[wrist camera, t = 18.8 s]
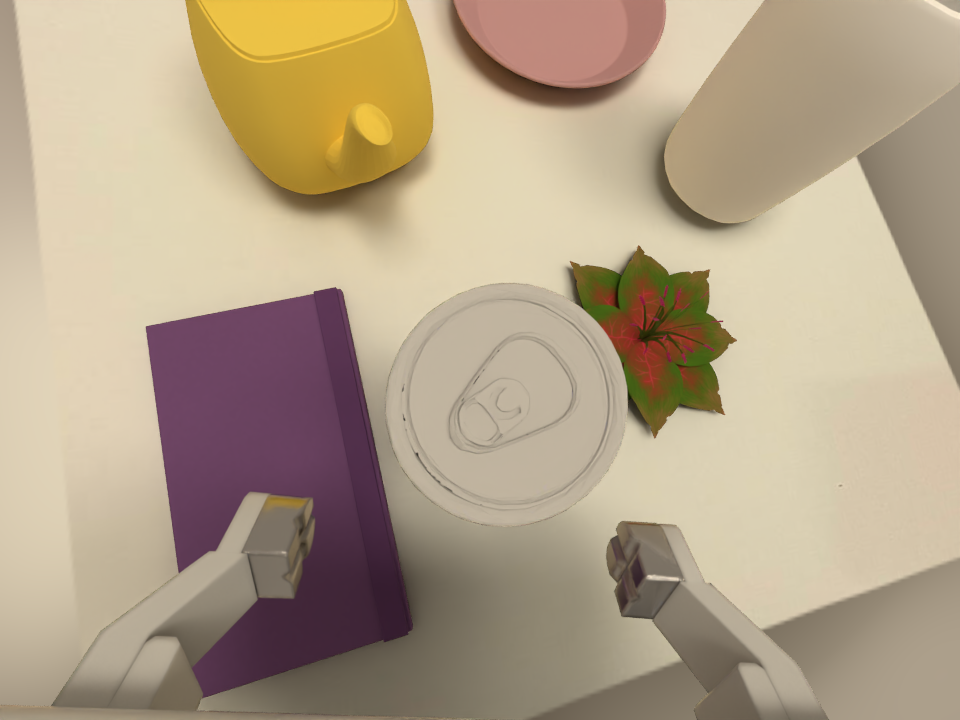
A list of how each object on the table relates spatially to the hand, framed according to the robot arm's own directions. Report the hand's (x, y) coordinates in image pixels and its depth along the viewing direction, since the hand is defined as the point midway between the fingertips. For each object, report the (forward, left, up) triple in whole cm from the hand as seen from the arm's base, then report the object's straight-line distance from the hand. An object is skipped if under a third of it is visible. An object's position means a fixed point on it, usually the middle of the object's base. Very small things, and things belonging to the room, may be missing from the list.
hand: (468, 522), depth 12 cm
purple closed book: (+1, +9, -12) cm, 15 cm away
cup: (+19, -18, -12) cm, 29 cm away
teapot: (+21, +6, -12) cm, 25 cm away
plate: (+31, -8, -12) cm, 34 cm away
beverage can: (+3, -1, -12) cm, 13 cm away
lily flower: (+8, -12, -12) cm, 19 cm away
